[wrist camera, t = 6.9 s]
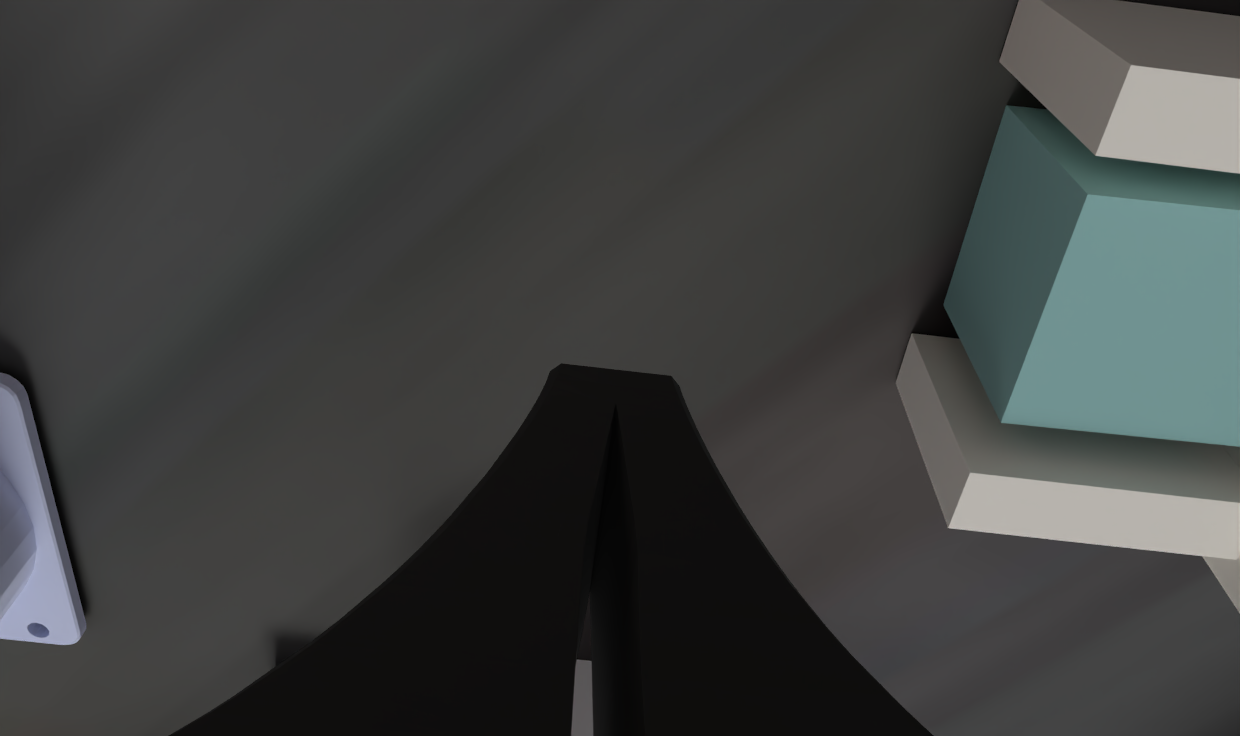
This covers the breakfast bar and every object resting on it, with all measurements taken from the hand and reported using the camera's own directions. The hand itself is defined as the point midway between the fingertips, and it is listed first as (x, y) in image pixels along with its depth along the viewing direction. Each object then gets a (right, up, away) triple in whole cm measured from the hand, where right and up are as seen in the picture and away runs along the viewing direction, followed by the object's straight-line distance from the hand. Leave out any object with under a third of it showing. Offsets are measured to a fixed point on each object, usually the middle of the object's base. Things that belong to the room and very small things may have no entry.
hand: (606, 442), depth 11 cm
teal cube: (+9, +4, +7) cm, 12 cm away
